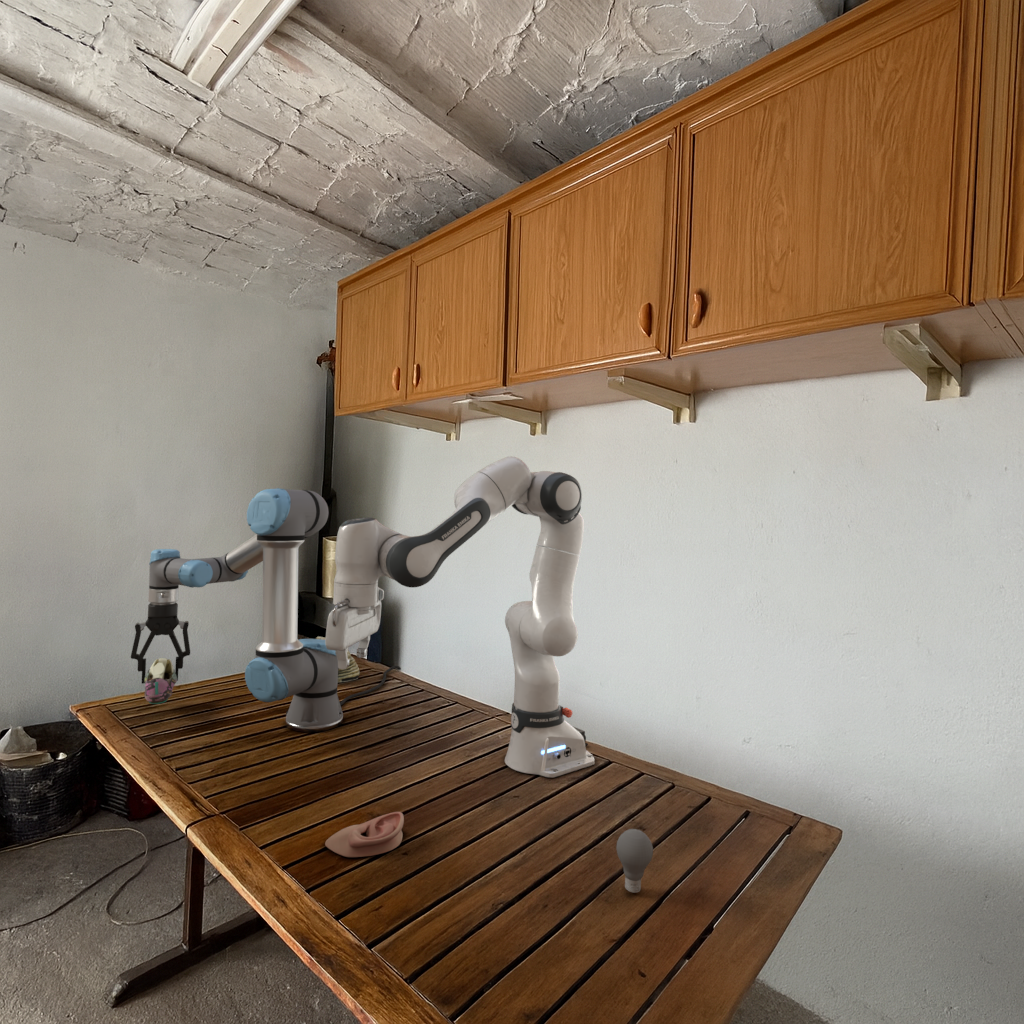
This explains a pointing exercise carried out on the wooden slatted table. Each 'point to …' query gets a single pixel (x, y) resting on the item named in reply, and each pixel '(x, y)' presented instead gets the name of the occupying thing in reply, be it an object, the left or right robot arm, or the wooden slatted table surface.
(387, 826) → the anatomical model
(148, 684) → the ballet flat
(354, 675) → the fossil
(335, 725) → the left robot arm
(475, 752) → the wooden slatted table surface
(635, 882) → the light bulb
